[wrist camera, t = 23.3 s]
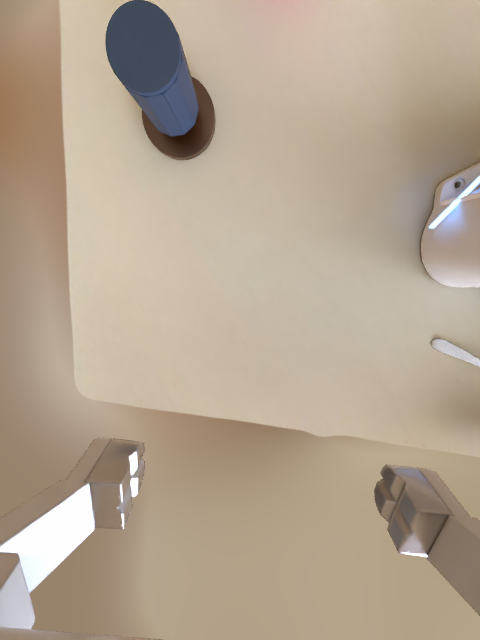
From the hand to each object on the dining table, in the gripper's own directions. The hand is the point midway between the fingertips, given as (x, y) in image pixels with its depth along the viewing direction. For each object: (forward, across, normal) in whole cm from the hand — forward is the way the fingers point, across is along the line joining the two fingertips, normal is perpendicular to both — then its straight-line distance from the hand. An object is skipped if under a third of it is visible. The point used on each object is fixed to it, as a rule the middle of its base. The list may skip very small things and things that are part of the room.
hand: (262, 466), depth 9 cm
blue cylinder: (+30, +11, -19) cm, 37 cm away
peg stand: (+34, +11, -19) cm, 41 cm away
